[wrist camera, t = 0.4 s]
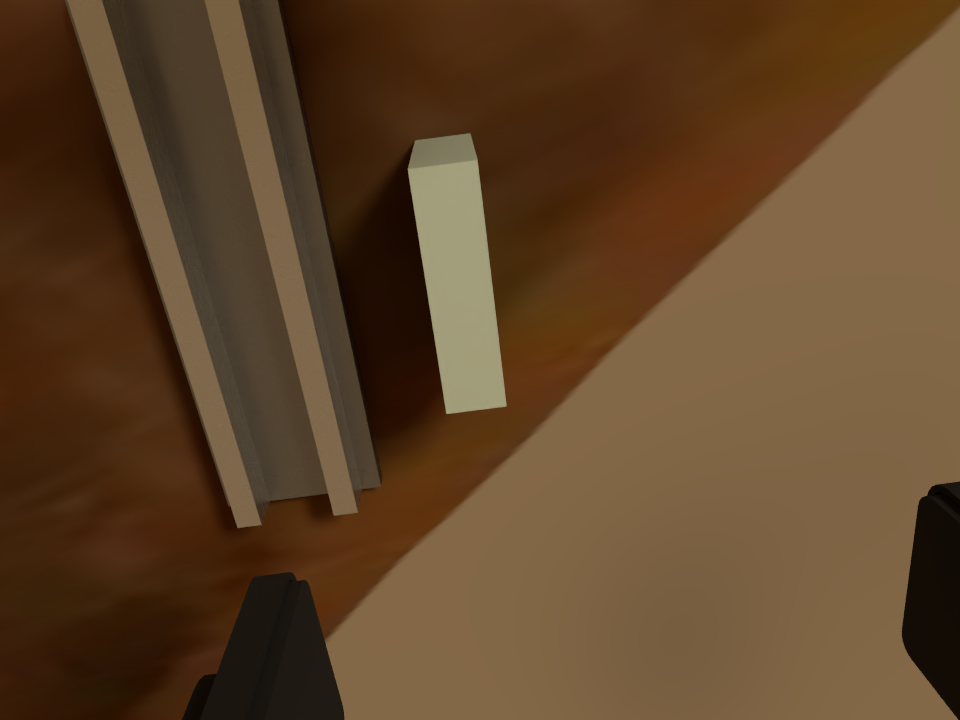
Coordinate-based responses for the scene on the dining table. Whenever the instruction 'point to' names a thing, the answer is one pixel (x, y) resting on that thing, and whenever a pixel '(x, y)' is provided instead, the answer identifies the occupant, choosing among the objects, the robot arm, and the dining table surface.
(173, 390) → the dining table surface
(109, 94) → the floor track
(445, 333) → the door panel
